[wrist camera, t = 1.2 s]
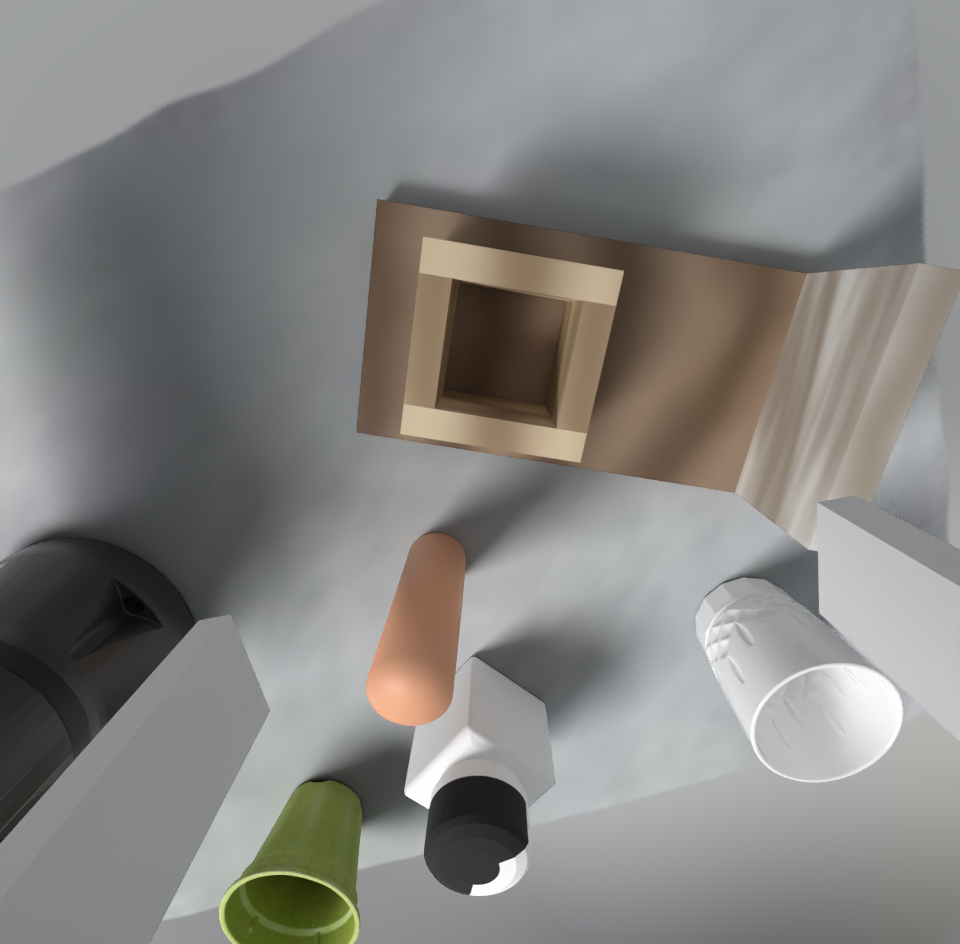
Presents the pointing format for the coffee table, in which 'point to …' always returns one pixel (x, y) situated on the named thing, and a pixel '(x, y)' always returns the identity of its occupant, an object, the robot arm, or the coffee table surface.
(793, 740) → the white cup
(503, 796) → the medicine bottle
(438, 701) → the dowel
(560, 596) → the coffee table surface
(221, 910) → the plant pot
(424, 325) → the open wooden box
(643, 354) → the board
